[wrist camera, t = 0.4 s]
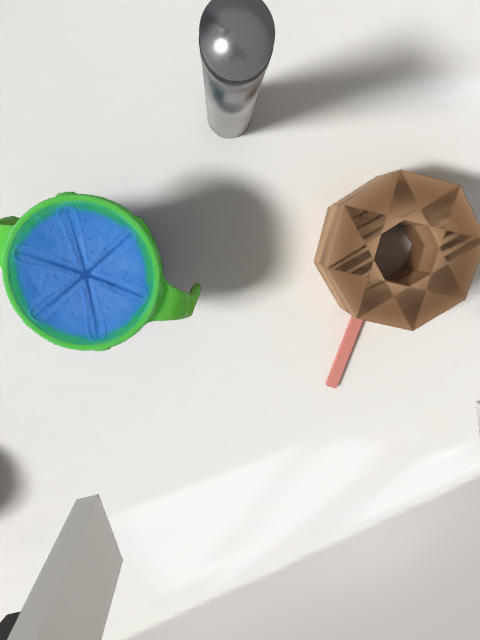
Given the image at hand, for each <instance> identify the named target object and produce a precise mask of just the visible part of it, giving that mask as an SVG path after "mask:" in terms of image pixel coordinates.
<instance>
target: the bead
mask: <svg viewBox="0 0 480 640" xmlns="http://www.w3.org/2000/svg"><path fill="white" fill-rule="evenodd" d="M397 224H399V225H402V226H403V228H404V230H405V232H406V234H407V236H408V238H409V240H410V242H411V244H412V247H411V250H410V253H409V257H408V260H407V263H406V266H405V267H404V268H403V269H401V270H399V271H398V272H396V273H395V274H393V275H391V276H390V277H388V278H386V279H384V277H383V276H382V274H381V272H380V270H379V268H378V266H377V265H376V263H375V261H374V258H375V254H376V251H377V247H378V244H379V241H380V237H381V234H382V233H384V232H386V231H387V230H389V229H390V228H392V227H394V226H395V225H397ZM479 259H480V226H479V224H478V222H477V220H476V218H475V215H474V213H473V211H472V209H471V207H470V205H469V203H468V200H467V198H466V196H465V194H464V192H463V190H462V188H461V186H460V185H458V184H454V183H450V182H446V181H442V180H438V179H434V178H431V177H427V176H423V175H419V174H415V173H411V172H407V171H403V170H398V171H394V172H391V173H387V174H384V175H380V176H377V177H375V178H374V179H372V180H371V181H369V182H367V183H366V184H364V185H363V186H361V187H360V188H358V189H356V190H355V191H353V192H352V193H350V194H349V195H347V196H345V197H344V198H342V199H341V200H339V201H338V202H336V203H334V204H333V205H331V206H330V207H328V210H327V214H326V218H325V222H324V225H323V229H322V233H321V237H320V240H319V244H318V248H317V252H316V256H315V259H314V263H315V265H316V267H317V268H318V270H319V272H320V274H321V275H322V277H323V279H324V281H325V282H326V284H327V286H328V287H329V289H330V291H331V293H332V294H333V296H334V298H335V300H336V301H337V303H338V305H339V306H340V307H341V308H342V309H343V310H345V311H346V312H348V313H349V314H351V315H352V316H353V317H355V318H356V319H360V320H365V321H370V322H374V323H379V324H383V325H388V326H392V327H397V328H402V329H406V330H411V331H414V330H415V329H417V328H419V327H420V326H422V325H424V324H425V323H427V322H429V321H430V320H432V319H434V318H435V317H437V316H439V315H440V314H442V313H444V312H445V311H447V310H449V309H450V308H452V307H454V306H455V305H457V304H459V303H460V302H462V301H464V300H465V299H466V296H467V293H468V291H469V288H470V285H471V282H472V279H473V276H474V273H475V270H476V268H477V265H478V262H479Z"/></svg>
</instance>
